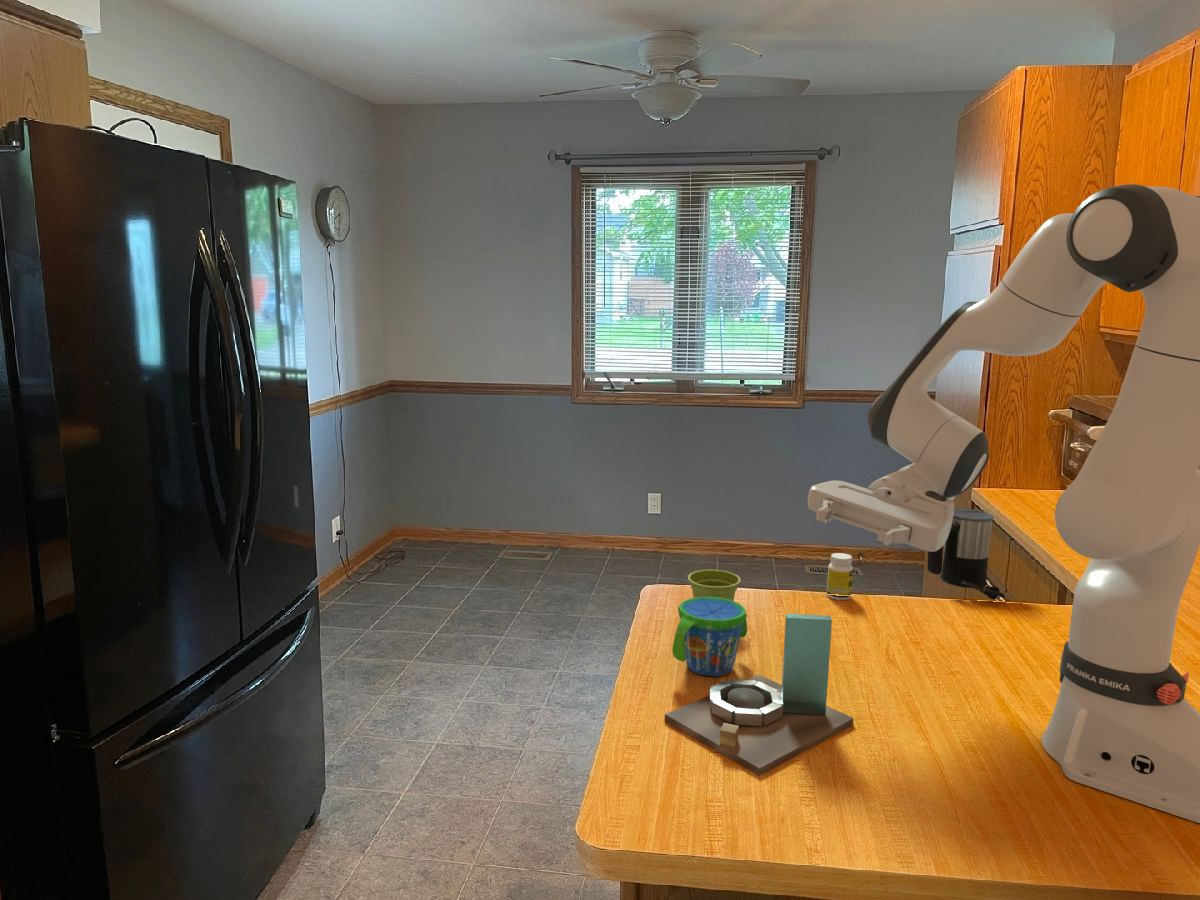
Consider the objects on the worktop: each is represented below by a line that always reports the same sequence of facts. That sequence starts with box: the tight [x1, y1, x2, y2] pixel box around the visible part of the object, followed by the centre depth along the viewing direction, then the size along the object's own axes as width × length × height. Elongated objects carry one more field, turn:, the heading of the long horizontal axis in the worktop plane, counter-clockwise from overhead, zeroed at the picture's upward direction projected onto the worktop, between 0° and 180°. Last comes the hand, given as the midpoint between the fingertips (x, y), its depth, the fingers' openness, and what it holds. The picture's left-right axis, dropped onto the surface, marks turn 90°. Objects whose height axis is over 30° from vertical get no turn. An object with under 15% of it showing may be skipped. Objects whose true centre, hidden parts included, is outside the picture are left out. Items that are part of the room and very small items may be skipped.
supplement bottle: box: [826, 552, 854, 601], centre depth 164 cm, size 5×5×8 cm
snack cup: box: [671, 597, 748, 677], centre depth 132 cm, size 16×10×10 cm
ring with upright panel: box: [709, 613, 833, 726], centre depth 116 cm, size 13×13×14 cm
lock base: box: [664, 674, 854, 776], centre depth 115 cm, size 17×20×3 cm
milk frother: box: [927, 508, 1005, 601], centre depth 169 cm, size 14×16×15 cm
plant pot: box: [687, 569, 741, 601], centre depth 150 cm, size 9×9×9 cm
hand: (850, 527), depth 116 cm, fingers open, 8 cm apart
